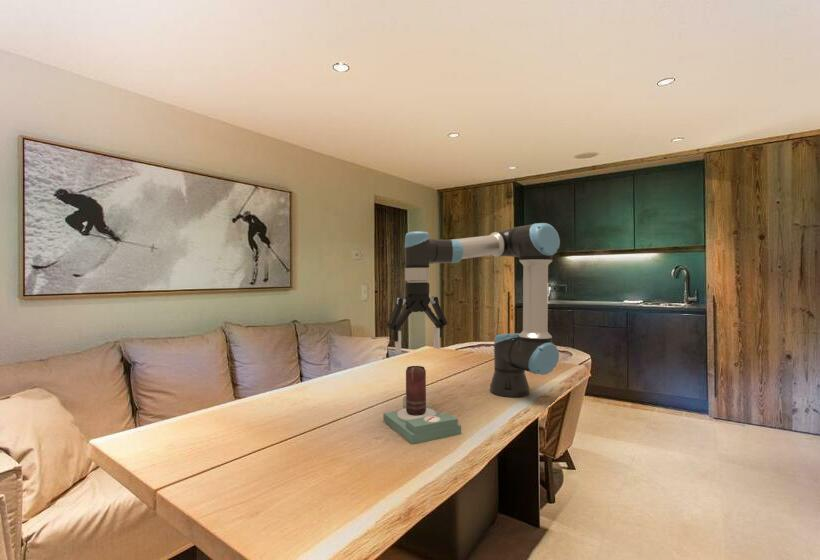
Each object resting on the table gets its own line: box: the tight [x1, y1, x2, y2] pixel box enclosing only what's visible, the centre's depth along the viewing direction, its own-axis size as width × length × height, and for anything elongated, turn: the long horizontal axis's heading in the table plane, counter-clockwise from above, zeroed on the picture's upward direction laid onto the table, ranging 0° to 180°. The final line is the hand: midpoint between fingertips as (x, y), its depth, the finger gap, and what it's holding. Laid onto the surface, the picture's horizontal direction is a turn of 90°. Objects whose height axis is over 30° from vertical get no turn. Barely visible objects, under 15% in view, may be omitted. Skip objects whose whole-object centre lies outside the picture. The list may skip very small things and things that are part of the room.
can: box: [405, 365, 427, 415], centre depth 125 cm, size 6×6×14 cm
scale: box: [383, 405, 462, 445], centre depth 123 cm, size 16×20×5 cm
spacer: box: [402, 396, 406, 409], centre depth 139 cm, size 4×4×4 cm
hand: (417, 350), depth 126 cm, fingers open, 13 cm apart
